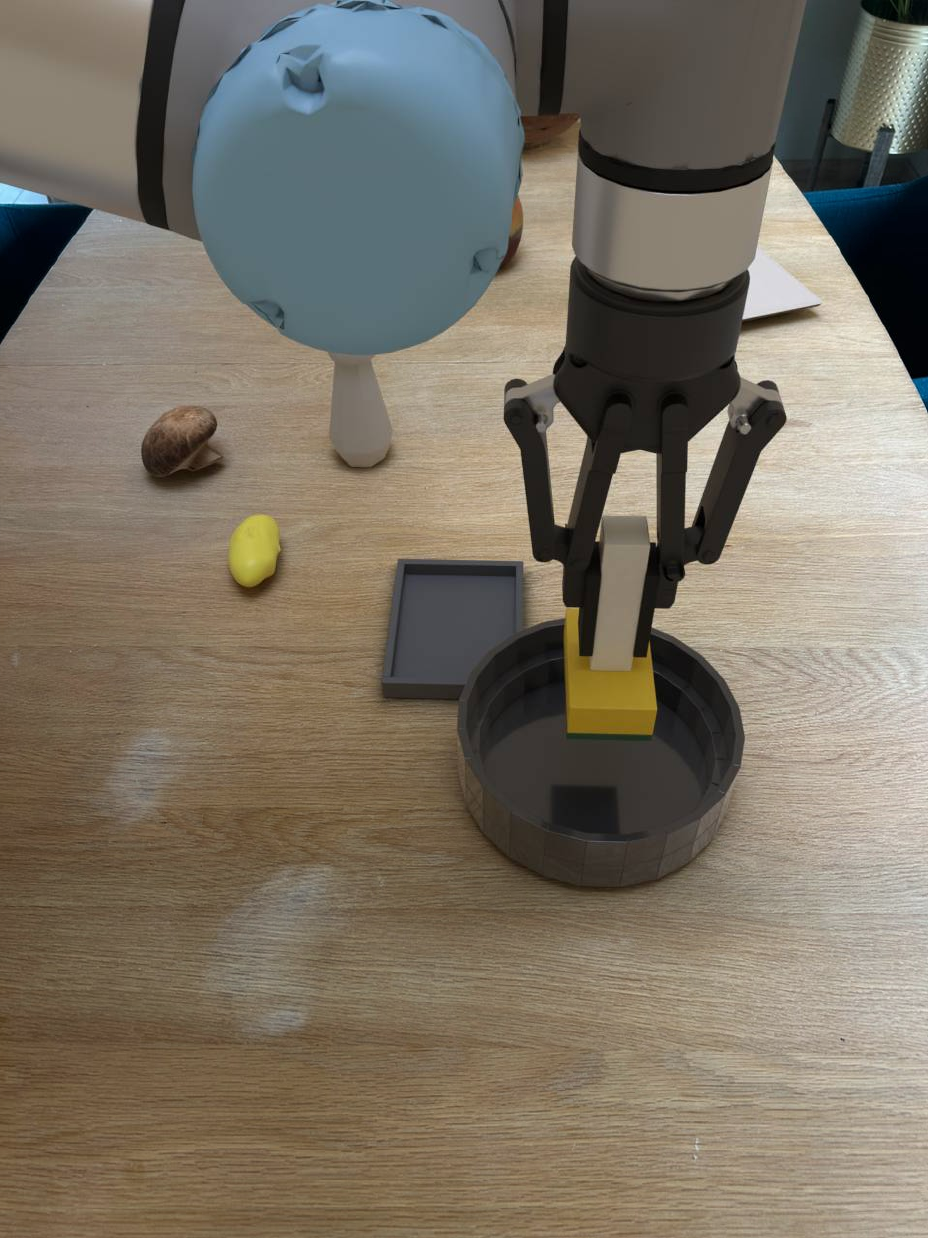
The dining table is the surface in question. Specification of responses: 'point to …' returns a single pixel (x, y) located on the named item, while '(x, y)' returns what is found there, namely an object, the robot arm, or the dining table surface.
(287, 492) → the dining table surface
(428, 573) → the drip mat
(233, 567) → the yellow potato
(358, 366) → the salt shaker
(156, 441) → the mushroom
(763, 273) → the plate
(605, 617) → the sponge brush
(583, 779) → the bowl
